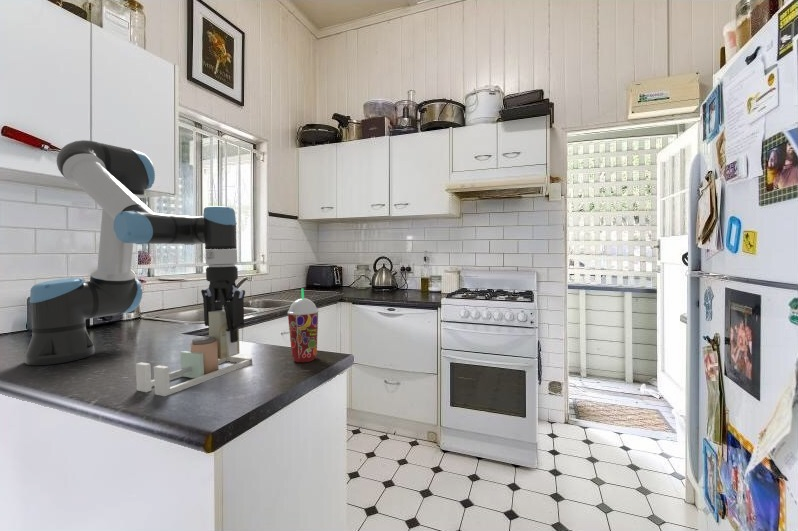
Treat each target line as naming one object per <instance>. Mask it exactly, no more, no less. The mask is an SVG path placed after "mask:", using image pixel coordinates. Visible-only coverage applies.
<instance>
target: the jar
mask: <svg viewBox="0 0 798 531" xmlns="http://www.w3.org/2000/svg"><path fill="white" fill-rule="evenodd" d="M190 352H197V353H203V364H204V375H206V374H208V373H211V372H214V371H217V370H220V369H219V367H220V366H219V364H218V341H217V340H216V338H215V337H209V336H202V337H197V338H193V339H192V340H191V343H190Z"/></svg>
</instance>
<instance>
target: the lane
mask: <svg viewBox="0 0 798 531" xmlns="http://www.w3.org/2000/svg"><path fill="white" fill-rule="evenodd" d="M225 361H226V362H228V361H230V362H229V363H234V364H231V365H229V366H226V367H222V368H220V369H219V370H217V371H214V372H211V373H208V374H206V375H203V376H200V377H197V378H191V379H189V380H186V381H184V382H181V383H178V384H175V385H173V386H171V384H170V381H173V380H177V379H179V378H181V377H183V376H181V375H179V376H176V377H173V378H169V373H170V367H169V366H167V365H166V366H165V365H159V364H158V365H156V366H153V376H154V377H153V379H152V370H151V369H152V367H151V363H149V362H137V363H135V375H136V376H135V378H136V379H135V380H136V391H139V392H142V393H149V392H151V391H152V388H153V387H154V395H155V396H162V397H167V396H170V395H172V394H175V393H178V392H180V391H184V390H186V389H188V388H191V387H194V386H197V385H199V384H202V383H204V382H208V381H210V380H212V379H215V378H218V377H220V376H223V375H226V374H228V373H231V372H233V371H237V370H239V369H241V367H242V368H244V367H243V366H245V367H247V366H250V365H252V364H253V358H252V357H245V356H239V355H234V356H230V357H227V358H224V359H218V365H220V364H222V363H226V362H225ZM235 362H238V363H235ZM251 363H252V364H251ZM249 364H250V365H249ZM246 365H247V366H246ZM236 369H237V370H236Z"/></svg>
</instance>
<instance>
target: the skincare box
mask: <svg viewBox="0 0 798 531" xmlns="http://www.w3.org/2000/svg"><path fill="white" fill-rule="evenodd" d="M208 313H209V326H208V337H215V338H216V340H217V341H218V359H224V358H227V357H230V356H238V355H239V354H240V328H239V329H238V341H237V353H236V354H233V355H230V356H227V348H226V329H228V325H227V320H226V312H225V310H224V308H222V310H218V311H212V312H208Z"/></svg>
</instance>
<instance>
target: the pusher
mask: <svg viewBox="0 0 798 531" xmlns="http://www.w3.org/2000/svg"><path fill="white" fill-rule="evenodd" d="M179 375H181V376H182V377H185V378H190V379H194V378H197V377H200V376H203V375H204V364H203V353H197V352H191V351H187V350H182V351H180V368H179V369H177V370H173V371H171V372H170V371H169V378H173V377H176V376H179Z"/></svg>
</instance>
